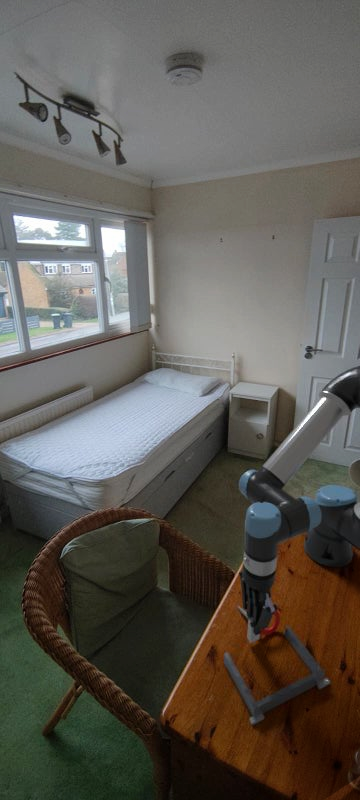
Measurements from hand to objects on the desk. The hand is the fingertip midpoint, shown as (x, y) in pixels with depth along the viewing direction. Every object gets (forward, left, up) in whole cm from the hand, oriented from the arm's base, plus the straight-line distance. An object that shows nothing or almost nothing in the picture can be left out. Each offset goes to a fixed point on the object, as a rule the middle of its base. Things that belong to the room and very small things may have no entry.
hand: (253, 638), depth 96 cm
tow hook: (-9, -6, 0) cm, 11 cm away
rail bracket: (0, +8, -2) cm, 8 cm away
